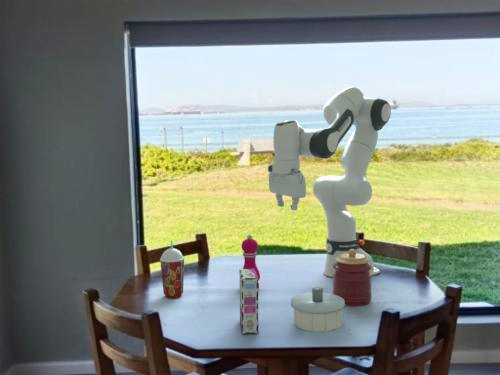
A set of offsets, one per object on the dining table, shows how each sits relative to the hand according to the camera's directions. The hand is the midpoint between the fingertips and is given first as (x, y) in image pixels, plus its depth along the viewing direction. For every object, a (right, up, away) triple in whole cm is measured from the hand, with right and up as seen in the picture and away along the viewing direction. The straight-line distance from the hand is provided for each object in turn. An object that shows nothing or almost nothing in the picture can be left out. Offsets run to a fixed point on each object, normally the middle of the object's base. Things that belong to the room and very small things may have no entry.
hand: (287, 208), depth 179 cm
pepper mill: (-13, -30, +13) cm, 35 cm away
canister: (+22, -31, -2) cm, 38 cm away
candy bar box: (-13, -34, -24) cm, 44 cm away
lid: (+7, -28, -22) cm, 36 cm away
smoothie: (-40, -32, +5) cm, 51 cm away
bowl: (+8, -34, -22) cm, 41 cm away
